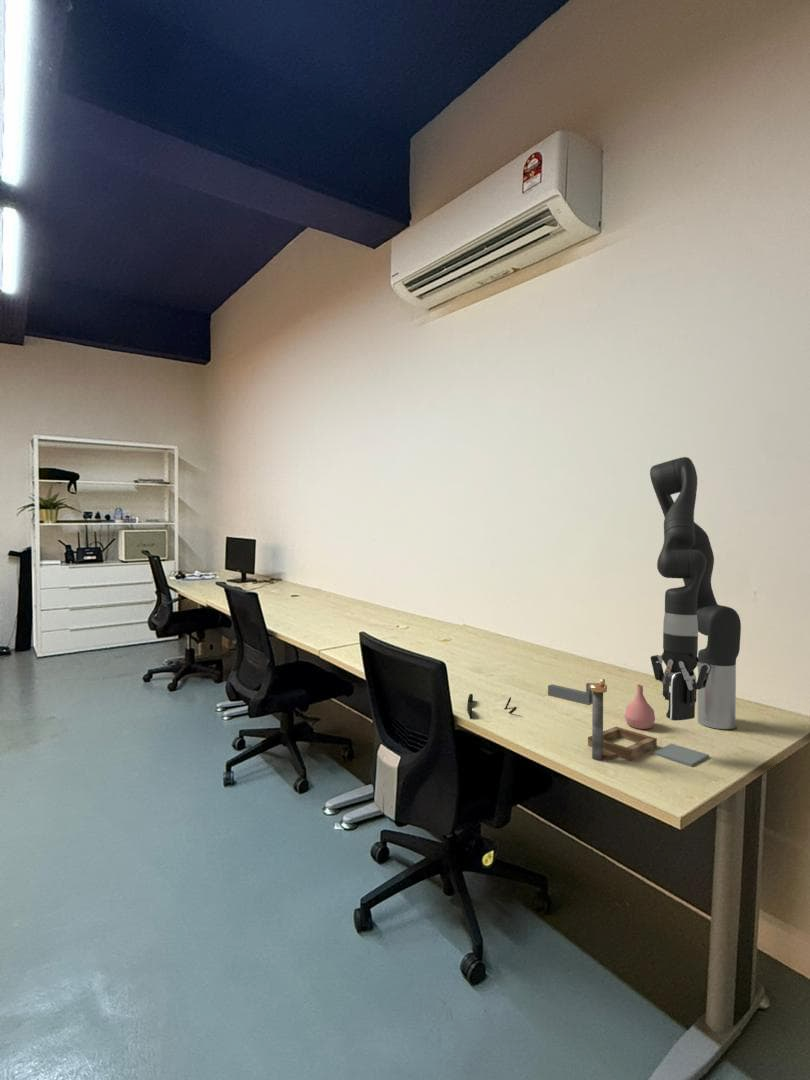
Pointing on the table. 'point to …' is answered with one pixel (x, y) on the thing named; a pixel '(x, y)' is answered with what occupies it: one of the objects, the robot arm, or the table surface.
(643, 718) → the pink vase
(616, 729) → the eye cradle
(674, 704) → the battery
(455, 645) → the table surface
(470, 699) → the thin black curved strips
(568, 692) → the bar
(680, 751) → the pad
